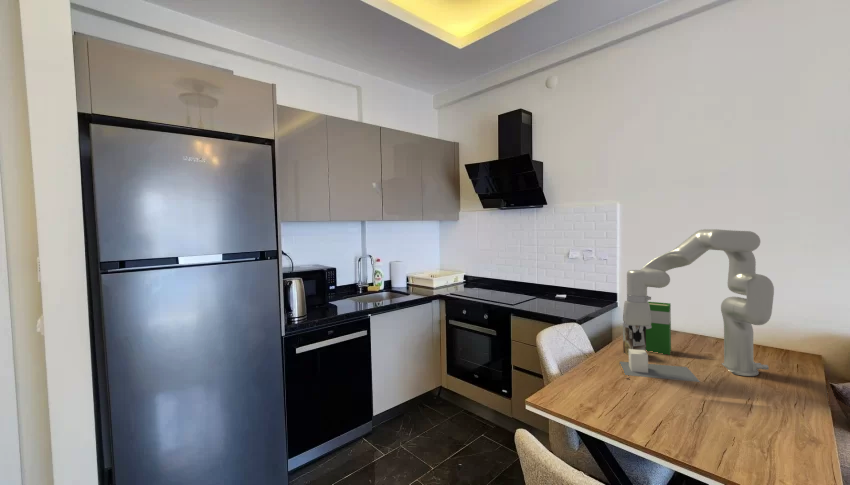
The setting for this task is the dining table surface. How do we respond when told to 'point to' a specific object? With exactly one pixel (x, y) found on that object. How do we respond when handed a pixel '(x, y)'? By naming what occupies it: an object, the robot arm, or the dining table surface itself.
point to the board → (662, 372)
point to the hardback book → (659, 328)
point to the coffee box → (630, 342)
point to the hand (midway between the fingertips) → (637, 341)
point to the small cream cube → (638, 360)
